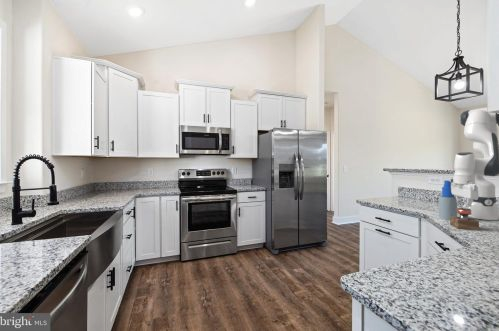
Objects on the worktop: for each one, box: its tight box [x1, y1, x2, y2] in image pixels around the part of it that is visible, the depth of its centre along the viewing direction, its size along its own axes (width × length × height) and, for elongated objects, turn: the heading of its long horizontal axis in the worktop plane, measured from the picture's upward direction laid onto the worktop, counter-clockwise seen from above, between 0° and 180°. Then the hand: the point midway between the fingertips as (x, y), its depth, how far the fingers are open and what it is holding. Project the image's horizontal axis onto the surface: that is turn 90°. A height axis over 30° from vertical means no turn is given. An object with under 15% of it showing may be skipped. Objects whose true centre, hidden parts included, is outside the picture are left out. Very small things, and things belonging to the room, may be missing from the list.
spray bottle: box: [438, 179, 458, 221], centre depth 147 cm, size 9×9×25 cm
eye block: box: [449, 216, 480, 231], centre depth 129 cm, size 9×9×5 cm
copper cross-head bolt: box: [457, 207, 471, 220], centre depth 129 cm, size 6×6×11 cm
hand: (463, 204), depth 128 cm, fingers open, 8 cm apart
